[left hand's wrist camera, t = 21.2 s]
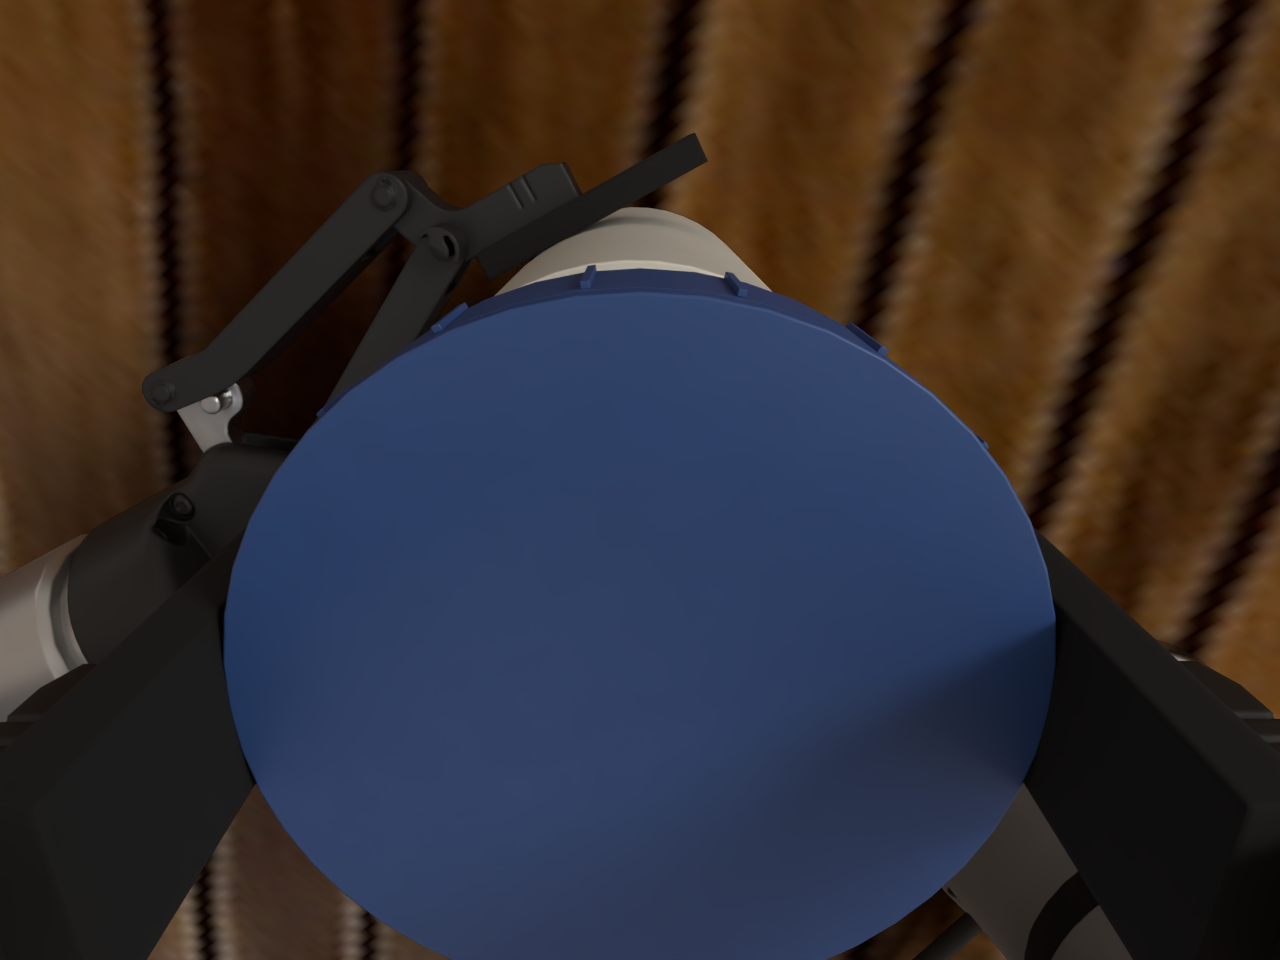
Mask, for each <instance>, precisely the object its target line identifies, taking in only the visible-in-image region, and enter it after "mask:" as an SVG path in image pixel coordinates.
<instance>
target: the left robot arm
mask: <svg viewBox="0 0 1280 960" xmlns="http://www.w3.org/2000/svg"><path fill="white" fill-rule="evenodd" d="M246 528H247V527H245V528H244V529H243V530H242V531H241V532H240V533H239V534H238V535H237V536H236V537H235V538H234V539H232V540H231V541H230V542H229V543H228V544H227V545H226V546H225V547H224V548H223V549H222V550H221V551H219V552H218V553H217V554H216V555H215V556H214V557H213V558H212V559H211V560H210V561H209V562H208V563H206V564H205V565H204V566H203V567H202V568H201V569H200V570H199V571H198V572H197V573H196V574H195V575H193V576H192V577H191V578H190V579H189V580H188V581H187V582H186V583H185V584H184V585H183V586H182V587H180V588H179V589H178V590H177V591H176V592H175V593H174V594H173V595H172V596H171V597H170V598H169V599H167V600H166V601H165V602H164V603H163V604H162V605H161V606H160V607H159V608H158V609H157V610H156V611H154V612H153V613H152V614H151V615H150V616H149V617H148V618H147V619H146V620H145V621H144V622H143V623H141V624H140V625H139V626H138V627H137V628H136V629H135V630H134V631H133V632H132V633H131V634H130V635H128V636H127V637H126V638H125V639H124V640H123V641H122V642H121V643H120V644H119V645H118V646H117V647H115V648H114V649H113V650H112V651H111V652H110V653H109V654H108V655H107V656H106V657H105V658H104V659H102V660H101V661H100V662H99V663H98V664H82V665H80V666H78V667H77V668H75V669H73V670H71V671H69V672H68V673H66V674H64V675H62V676H60V677H59V678H57V679H55V680H53V681H51V682H50V683H48V684H46V685H44V686H42V687H40V688H39V689H38V690H37V691H36V692H34V693H33V694H32V695H31V696H30V697H29V698H28V699H26V700H25V701H24V702H23V703H22V704H21V705H20V706H18V707H17V708H16V709H15V710H14V711H13V712H12V713H10V714H9V715H8V716H7V721H6V722H0V960H147V958H148V957H149V955H150V953H151V952H152V950H153V949H154V947H155V945H156V944H157V942H158V940H159V939H160V937H161V936H162V934H163V932H164V931H165V929H166V928H167V926H168V924H169V923H170V921H171V919H172V918H173V916H174V915H175V913H176V911H177V910H178V908H179V907H180V905H181V903H182V902H183V900H184V898H185V897H186V895H187V894H188V892H189V890H190V889H191V887H192V886H193V884H194V882H195V881H196V879H197V877H198V876H199V874H200V873H201V871H202V869H203V868H204V866H205V865H206V863H207V861H208V860H209V858H210V856H211V855H212V853H213V852H214V850H215V848H216V847H217V845H218V844H219V842H220V840H221V839H222V837H223V835H224V834H225V832H226V831H227V829H228V827H229V826H230V824H231V823H232V821H233V819H234V818H235V816H236V814H237V813H238V811H239V810H240V808H241V806H242V805H243V803H244V802H245V800H246V798H247V797H248V795H249V793H250V792H251V790H252V789H253V787H254V785H255V784H256V781H255V779H254V777H253V774H252V772H251V770H250V768H249V766H248V763H247V761H246V759H245V757H244V755H243V753H242V750H241V746H240V743H239V739H238V736H237V731H236V727H235V723H234V719H233V715H232V710H231V706H230V701H229V696H228V691H227V685H226V680H225V673H224V666H223V640H224V612H225V606H226V601H227V595H228V590H229V584H230V579H231V573H232V568H233V564H234V562H235V559H236V556H237V553H238V550H239V547H240V545H241V542H242V539H243V536H244V533H245V530H246ZM1033 529H1034V532H1035V535H1036V538H1037V541H1038V544H1039V547H1040V549H1041V552H1042V555H1043V558H1044V561H1045V564H1046V567H1047V571H1048V577H1049V583H1050V588H1051V594H1052V600H1053V606H1054V611H1055V621H1056V669H1055V675H1054V682H1053V687H1052V692H1051V697H1050V702H1049V707H1048V712H1047V716H1046V720H1045V724H1044V728H1043V732H1042V737H1041V740H1040V743H1039V747H1038V750H1037V753H1036V755H1035V758H1034V760H1033V762H1032V764H1031V766H1030V768H1029V770H1028V773H1027V775H1026V777H1025V779H1024V781H1023V783H1022V786H1021V788H1020V790H1019V792H1018V794H1017V796H1016V797H1015V799H1014V800H1013V802H1012V803H1011V805H1010V807H1009V808H1008V810H1007V811H1006V813H1005V814H1004V816H1003V817H1002V819H1001V821H1000V822H999V824H998V825H997V827H996V828H995V830H994V831H993V833H992V834H991V835H990V836H989V837H988V839H987V840H986V841H985V842H984V843H983V845H982V846H981V847H980V848H979V849H978V850H977V852H976V853H975V854H974V855H973V856H972V858H971V859H970V860H969V861H968V862H967V864H966V865H965V866H964V867H963V868H962V869H961V870H960V871H958V872H957V873H956V874H955V875H954V876H953V877H952V878H951V879H950V880H949V881H948V882H947V883H946V884H945V885H943V886H942V888H943V890H944V891H945V892H946V893H947V894H948V895H949V896H950V897H951V898H952V899H953V900H954V901H955V902H956V903H957V904H958V906H960V907H961V908H962V909H963V910H964V911H966V913H964V914H963V915H962V916H961V917H960V918H959V919H958V920H957V921H956V922H954V923H953V924H952V925H951V926H950V927H949V928H948V929H947V930H946V931H944V932H943V933H942V934H941V935H940V936H939V937H938V938H937V939H936V940H934V941H933V942H932V943H931V944H930V945H929V946H928V947H927V948H925V949H924V950H923V951H922V952H921V953H920V954H918V955H917V956H916V957H915V958H914V959H912V960H948V959H949V958H951V957H952V956H953V955H954V954H955V953H956V952H957V951H959V950H960V949H961V948H962V947H963V946H964V945H965V944H967V943H968V942H969V941H970V940H971V939H972V938H973V937H975V936H976V935H977V934H978V933H979V932H980V931H981V930H983V931H984V932H985V933H986V935H987V936H988V937H989V938H990V939H991V940H992V942H993V943H994V944H995V945H996V946H997V948H998V949H999V950H1000V951H1001V952H1002V953H1003V955H1004V956H1005V957H1006V958H1007V959H1008V960H1280V719H1274V718H1273V713H1272V712H1271V711H1270V710H1269V709H1268V708H1266V707H1265V706H1264V705H1263V704H1262V703H1261V702H1260V701H1258V700H1257V699H1256V698H1255V697H1254V696H1253V695H1251V694H1250V693H1249V692H1248V691H1247V690H1246V689H1245V688H1243V687H1242V686H1241V685H1240V684H1238V683H1236V682H1234V681H1232V680H1231V679H1229V678H1227V677H1225V676H1223V675H1221V674H1220V673H1218V672H1216V671H1214V670H1212V669H1211V668H1210V667H1208V666H1207V665H1206V664H1205V663H1204V662H1202V661H1201V660H1199V659H1198V658H1196V657H1195V656H1193V655H1192V654H1190V653H1188V652H1186V651H1184V650H1182V649H1180V648H1178V647H1175V646H1173V645H1170V644H1167V643H1165V642H1162V641H1158V640H1155V639H1154V638H1153V637H1152V636H1151V635H1150V634H1149V633H1148V632H1147V631H1146V630H1144V629H1143V628H1142V627H1141V626H1140V625H1139V624H1138V623H1137V622H1136V621H1135V620H1134V619H1133V618H1131V617H1130V616H1129V615H1128V614H1127V613H1126V612H1125V611H1124V610H1123V609H1122V608H1121V607H1120V606H1118V605H1117V604H1116V603H1115V602H1114V601H1113V600H1112V599H1111V598H1110V597H1109V596H1108V595H1107V594H1105V593H1104V592H1103V591H1102V590H1101V589H1100V588H1099V587H1098V586H1097V585H1096V584H1095V583H1094V582H1092V581H1091V580H1090V579H1089V578H1088V577H1087V576H1086V575H1085V574H1084V573H1083V572H1082V571H1081V570H1079V569H1078V568H1077V567H1076V566H1075V565H1074V564H1073V563H1072V562H1071V561H1070V560H1069V559H1068V558H1066V557H1065V556H1064V555H1063V554H1062V553H1061V552H1060V551H1059V550H1058V549H1057V548H1056V547H1055V546H1053V545H1052V544H1051V543H1050V542H1049V541H1048V540H1047V539H1046V538H1045V537H1044V536H1043V535H1042V534H1040V533H1039V532H1038V531H1037V530H1036V529H1035V528H1034V527H1033Z"/></svg>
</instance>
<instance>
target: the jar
mask: <svg viewBox="0 0 1280 960" xmlns="http://www.w3.org/2000/svg"><path fill="white" fill-rule="evenodd" d="M589 265H596V269H597V271H605V270H621V269H636V268H645V269H659V270H674V271H688V272H697V273H702V274H707V275H711V276H716V277H721V278H724V276H725V272H730V273H733V274H734V275H735V276H736V277H737V278H738V279H739V280H740V282H745V283H749V284H751V285H754V286H757V287H760V288H763V289H765V290H768V291H771V290H770V289H769V288H768V287H767V286H766V285H765V284H764V283H763V282H762V281H761V280H760V279H759V278H758V277H757V276H756V275H755V274H754V273H753V272H752V271H751V270H750V269H749V268H748V267H747V266H746V265H745V264H744V263H743V262H742V261H741V260H740V259H739V258H738V257H737V255H736V254H735V253H734V252H733V251H732V250H731V249H730V248H729V247H728V246H727V245H726V244H725V243H723V242H722V241H721V240H720V239H719V238H718V237H717V236H715V235H714V234H713V233H712V232H710V231H709V230H707V229H706V228H704V227H703V226H701V225H700V224H698V223H696V222H694V221H692V220H690V219H687V218H685V217H683V216H680V215H677V214H674V213H671V212H668V211H664V210H658V209H652V208H635V207H630V208H621V209H620V210H618V211H616V212H614V213H612V214H610V215H609V216H607V217H605V218H603V219H601V220H600V221H598V222H596V223H594V224H592V225H590V226H589V227H587V228H585V229H583V230H581V231H579V232H578V233H576V234H574V235H572V236H570V237H569V238H567V239H565V240H563V241H561V242H559V243H558V244H556V245H554V246H552V247H550V248H548V249H547V250H545V251H543V252H541V253H539V254H538V255H536V256H534V257H533V258H532V259H531V260H530V261H529V262H528V263H527V264H526V265H525V266H524V267H523V268H522V269H521V270H520V271H519V272H518V273H517V274H516V275H515V276H514V277H513V278H512V279H511V280H510V281H509V282H508V283H507V284H506V285H505V286H504V287H503V288H502V289H501V290H500V291H499V292H498V293H497V294H496V295H495V296H497V295H500V294H503V293H505V292H508V291H511V290H514V289H517V288H520V287H523V286H525V285H528V284H531V283H534V282H538V281H543V280H548V279H553V278H558V277H563V276H568V275H573V274H578V273H583V272H585V270H586V268H587V266H589ZM771 292H772V291H771Z"/></svg>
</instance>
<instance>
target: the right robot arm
mask: <svg viewBox="0 0 1280 960" xmlns="http://www.w3.org/2000/svg"><path fill="white" fill-rule="evenodd" d="M705 162H707V158H706V156H705V154H704V152H703V149H702V147H701V145H700V143H699V141H698V138H697V136H696V134H695V133H693V134H690V135H688V136H686V137H684V138H683V139H681V140H679V141H677V142H675V143H674V144H672V145H670V146H668V147H666V148H665V149H663V150H661V151H659V152H657V153H656V154H654V155H652V156H650V157H648V158H647V159H645V160H643V161H641V162H639V163H638V164H636V165H634V166H632V167H630V168H629V169H627V170H625V171H623V172H621V173H620V174H618V175H616V176H614V177H612V178H611V179H609V180H607V181H605V182H603V183H602V184H600V185H598V186H596V187H595V188H593V189H591V190H589V191H587V192H586V193H584V194H582V192H581V190H580V188H579V187H578V185H577V183H576V181H575V179H574V177H573V175H572V173H571V171H570V169H569V167H568V165H567V163H566V162H562V163H552V164H543V165H540V166H538V167H536V168H534V169H533V170H531V171H529V172H527V173H526V174H524V175H522V176H520V177H519V178H517V179H515V180H513V181H512V182H510V183H508V184H506V185H505V186H503V187H501V188H499V189H498V190H496V191H494V192H492V193H491V194H489V195H487V196H485V197H484V198H482V199H480V200H478V201H477V202H475V203H473V204H471V205H470V206H468V207H466V208H460V207H455V206H452V205H450V204H448V203H447V202H445V201H444V200H442V199H441V198H440V197H439V196H438V195H437V194H436V193H435V192H434V191H432V190H431V189H430V188H429V187H428V185H427V183H426V182H425V180H424V179H423V177H421V176H420V175H419V174H417V173H416V172H413V171H409V170H402V171H385V172H378V173H374V174H372V175H371V176H369V177H368V178H366V180H365V181H364V182H363V183H362V184H361V185H360V186H359V187H358V188H357V189H356V190H355V191H354V192H353V193H352V194H351V195H350V196H349V197H348V199H347V200H346V201H345V202H344V203H343V204H342V205H341V206H340V207H339V208H338V209H337V210H336V211H335V212H334V213H333V214H332V215H331V216H330V218H329V219H328V220H327V221H326V222H325V223H324V224H323V225H322V226H321V227H320V228H319V229H318V230H317V231H316V232H315V233H314V234H313V235H312V236H311V238H310V239H309V240H308V241H307V242H306V243H305V244H304V245H303V246H302V247H301V248H300V249H299V250H298V251H297V252H296V253H295V254H294V255H293V257H292V258H291V259H290V260H289V261H288V262H287V263H286V264H285V265H284V266H283V267H282V268H281V269H280V270H279V271H278V272H277V273H276V274H275V276H274V277H273V278H272V279H271V280H270V281H269V282H268V283H267V284H266V285H265V286H264V287H263V288H262V289H261V290H260V291H259V292H258V293H257V295H256V296H255V297H254V298H253V299H252V300H251V301H250V302H249V303H248V304H247V305H246V306H245V307H244V308H243V309H242V310H241V311H240V312H239V314H238V315H237V316H236V317H235V318H234V319H233V320H232V321H231V322H230V323H229V324H228V325H227V326H226V327H225V328H224V329H223V330H222V331H221V333H220V334H219V335H218V336H217V337H216V338H215V339H214V340H213V341H212V342H211V343H210V344H209V345H208V346H207V347H206V348H205V349H204V350H202V351H199V352H197V353H195V354H192V355H190V356H188V357H186V358H184V359H181V360H179V361H177V362H175V363H172V364H170V365H168V366H166V367H164V368H161V369H159V370H157V371H155V372H152V373H151V374H149V375H148V376H147V377H145V379H144V381H143V384H142V392H143V394H144V397H145V399H146V401H147V402H148V403H149V404H150V405H151V406H152V407H154V408H156V409H157V410H159V411H163V412H173V411H177V412H178V413H179V415H180V416H181V418H182V420H183V421H184V423H185V424H186V426H187V427H188V429H189V431H190V432H191V434H192V435H193V437H194V439H195V440H196V442H197V443H198V445H199V447H200V448H201V450H202V451H203V454H202V455H201V456H200V457H199V459H198V461H197V463H196V465H195V467H194V469H193V471H192V473H191V474H190V475H189V476H188V477H187V478H185V479H183V480H181V481H179V482H177V483H176V484H174V485H172V486H170V487H168V488H166V489H164V490H163V491H161V492H159V493H157V494H155V495H153V496H152V497H150V498H148V499H146V500H144V501H142V502H140V503H139V504H137V505H135V506H133V507H131V508H129V509H128V510H126V511H124V512H122V513H120V514H118V515H116V516H115V517H113V518H111V519H109V520H107V521H105V522H104V523H102V524H100V525H98V526H97V527H96V528H95V529H93V530H92V531H91V532H90V533H88V534H83V535H79V536H78V537H76V538H74V539H72V540H70V541H68V542H66V543H65V544H63V545H61V546H59V547H57V548H55V549H54V550H52V551H50V552H48V553H46V554H44V555H43V556H41V557H39V558H37V559H35V560H33V561H31V562H30V563H28V564H26V565H24V566H22V567H20V568H19V569H17V570H15V571H13V572H11V573H9V574H7V575H6V576H4V577H2V578H0V722H6V721H7V716H8V715H9V714H10V713H12V712H13V711H14V710H15V709H16V708H17V707H18V706H20V705H21V704H22V703H23V702H24V701H25V700H26V699H28V698H29V697H30V696H31V695H32V694H33V693H34V692H36V691H37V690H38V689H39V688H40V687H42V686H44V685H46V684H48V683H50V682H51V681H53V680H55V679H57V678H59V677H60V676H62V675H64V674H66V673H68V672H69V671H71V670H73V669H75V668H77V667H78V666H80V665H82V664H98V663H99V662H100V661H101V660H102V659H104V658H105V657H106V656H107V655H108V654H109V653H110V652H111V651H112V650H113V649H114V648H115V647H117V646H118V645H119V644H120V643H121V642H122V641H123V640H124V639H125V638H126V637H127V636H128V635H130V634H131V633H132V632H133V631H134V630H135V629H136V628H137V627H138V626H139V625H140V624H141V623H143V622H144V621H145V620H146V619H147V618H148V617H149V616H150V615H151V614H152V613H153V612H154V611H156V610H157V609H158V608H159V607H160V606H161V605H162V604H163V603H164V602H165V601H166V600H167V599H169V598H170V597H171V596H172V595H173V594H174V593H175V592H176V591H177V590H178V589H179V588H180V587H182V586H183V585H184V584H185V583H186V582H187V581H188V580H189V579H190V578H191V577H192V576H193V575H195V574H196V573H197V572H198V571H199V570H200V569H201V568H202V567H203V566H204V565H205V564H206V563H208V562H209V561H210V560H211V559H212V558H213V557H214V556H215V555H216V554H217V553H218V552H219V551H221V550H222V549H223V548H224V547H225V546H226V545H227V544H228V543H229V542H230V541H231V540H232V539H234V538H235V537H236V536H237V535H238V534H239V533H240V532H241V531H242V530H243V529H244V528H245V527H247V525H248V522H249V519H250V517H251V515H252V514H253V512H254V510H255V508H256V506H257V504H258V503H259V501H260V499H261V497H262V495H263V493H264V492H265V490H266V488H267V486H268V484H269V482H270V481H271V479H272V477H273V475H274V473H275V472H276V471H277V469H278V468H279V467H280V466H281V464H282V463H283V462H284V460H285V459H286V458H287V456H288V455H289V454H290V453H291V451H292V450H293V449H294V447H295V446H296V445H297V443H298V442H299V441H300V440H301V439H299V438H291V437H284V436H277V435H270V434H263V433H255V432H244V430H243V428H242V425H241V415H242V413H243V411H244V409H246V408H247V407H248V406H249V405H250V404H252V403H253V401H254V399H255V395H256V390H255V387H256V383H255V380H254V379H253V378H252V377H251V376H250V375H251V374H253V373H255V372H257V371H258V370H260V369H262V368H263V367H265V366H266V365H268V364H269V363H271V362H272V361H273V360H275V359H276V358H277V357H278V356H279V355H280V354H281V353H282V352H283V351H284V350H285V349H286V348H287V347H288V346H289V345H290V344H291V343H292V342H293V341H294V340H295V339H296V338H297V337H298V336H299V335H300V334H301V333H302V332H303V331H304V330H305V329H306V328H307V327H308V326H309V325H310V324H311V323H312V322H313V321H314V320H315V319H316V318H317V317H318V316H319V315H320V314H321V313H322V312H323V311H324V310H325V309H326V308H327V307H328V306H329V305H330V304H331V303H332V302H333V301H334V300H335V299H336V298H337V297H338V296H339V295H340V294H341V293H342V291H343V290H344V289H345V288H346V287H347V286H348V285H349V284H350V283H351V282H352V281H353V280H354V279H355V278H356V277H357V276H358V275H359V274H360V273H361V272H362V271H363V270H364V269H365V268H366V267H367V266H368V265H369V264H370V263H371V262H372V261H373V260H374V259H375V258H376V257H377V256H378V255H379V254H380V253H381V252H382V251H383V250H384V249H385V248H386V247H387V246H388V245H389V244H390V243H391V242H392V241H393V240H394V239H395V238H396V237H397V236H398V235H399V234H401V235H403V236H404V237H405V238H406V239H407V240H408V241H409V242H411V243H412V244H413V245H414V246H415V249H414V251H413V252H412V254H411V256H410V258H409V259H408V261H407V263H406V265H405V266H404V268H403V270H402V272H401V273H400V275H399V277H398V279H397V280H396V282H395V284H394V285H393V287H392V289H391V291H390V292H389V294H388V296H387V298H386V299H385V301H384V303H383V305H382V306H381V308H380V310H379V312H378V313H377V315H376V317H375V319H374V320H373V322H372V324H371V326H370V327H369V329H368V331H367V332H366V334H365V336H364V338H363V339H362V341H361V343H360V345H359V346H358V348H357V350H356V352H355V353H354V355H353V357H352V359H351V360H350V362H349V364H348V366H347V367H346V369H345V371H344V373H343V374H342V376H341V378H340V379H339V381H338V383H337V385H336V386H335V388H334V390H333V392H332V393H331V395H330V397H329V399H328V400H327V402H326V404H325V406H326V405H327V404H328V403H330V402H331V401H332V400H333V399H335V398H336V397H337V396H339V395H340V394H341V393H343V392H344V391H345V390H346V389H348V388H349V387H350V386H352V385H353V384H354V383H356V382H357V381H358V380H359V379H361V378H363V379H365V378H366V377H367V376H369V375H370V374H371V373H372V372H374V371H375V370H376V369H378V368H379V367H380V366H381V365H383V364H384V363H385V362H386V361H388V360H389V359H390V358H392V357H393V356H394V355H395V354H397V353H398V352H399V351H401V350H402V349H404V348H405V347H406V346H408V345H409V344H411V343H412V342H413V341H415V340H416V339H418V338H419V337H421V336H422V335H423V334H425V333H426V332H428V331H429V330H430V329H431V326H433V325H434V324H435V322H436V321H437V319H438V317H439V316H440V314H441V313H442V311H443V309H444V308H445V306H446V304H447V303H448V301H449V299H450V298H451V296H452V294H453V293H454V291H455V289H456V288H457V286H458V284H459V283H460V281H461V279H462V278H463V276H464V274H465V273H466V271H467V269H468V268H469V266H470V264H471V263H472V261H473V259H474V258H475V257H476V259H477V261H478V263H479V264H480V266H481V268H482V270H483V271H484V273H485V275H486V277H487V278H488V280H489V281H490V280H492V279H494V278H496V277H497V276H499V275H501V274H503V273H505V272H507V271H508V270H510V269H512V268H514V267H516V266H517V265H519V264H521V263H523V262H525V261H527V260H528V259H530V258H532V257H534V256H536V255H538V254H539V253H541V252H543V251H545V250H547V249H548V248H550V247H552V246H554V245H556V244H558V243H559V242H561V241H563V240H565V239H567V238H569V237H570V236H572V235H574V234H576V233H578V232H579V231H581V230H583V229H585V228H587V227H589V226H590V225H592V224H594V223H596V222H598V221H600V220H601V219H603V218H605V217H607V216H609V215H610V214H612V213H614V212H616V211H618V210H620V209H621V208H623V207H625V206H627V205H629V204H631V203H632V202H634V201H636V200H638V199H640V198H641V197H643V196H645V195H647V194H649V193H651V192H652V191H654V190H656V189H658V188H660V187H662V186H663V185H665V184H667V183H669V182H671V181H672V180H674V179H676V178H678V177H680V176H682V175H683V174H685V173H687V172H689V171H691V170H693V169H694V168H696V167H698V166H700V165H702V164H703V163H705ZM319 419H320V418H319V417H317V419H316V420H315V421H314V423H313V424H312V425H311V426H310V427H312V426H313V425H314V424H315V423H316V422H317V421H318V420H319Z"/></svg>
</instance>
